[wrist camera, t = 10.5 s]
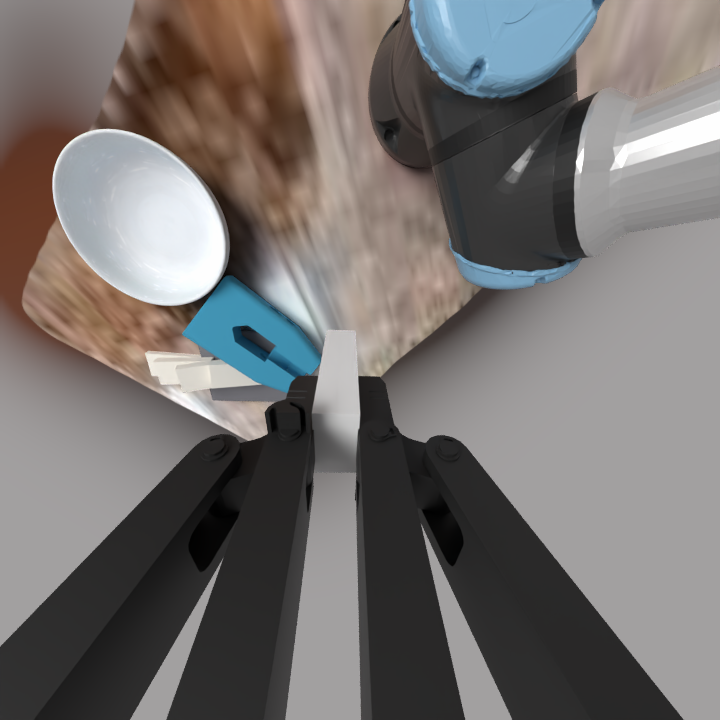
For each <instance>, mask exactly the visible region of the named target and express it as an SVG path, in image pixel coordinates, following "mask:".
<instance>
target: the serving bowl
mask: <svg viewBox="0 0 720 720" xmlns="http://www.w3.org/2000/svg"><path fill="white" fill-rule="evenodd" d="M53 197H54V203H55V207H56V211H57V214H58V217H59V220H60V222H61V224H62V227H63V229H64V231H65V233H66V235H67V237H68V238H69V240H70V242H71V243H72V245H73V246H74V248H75V249H76V250H77V252H78V253H79V255H80V256H81V257H82V258H83V259H84V261H85V262H86V263H87V264H88V265H89V266H90V267H91V268H92V269H93V270H94V271H95V272H96V273H97V274H98V275H99V276H100V277H101V278H103V279H104V280H105V281H106V282H108V283H109V284H111V285H112V286H113V287H115V288H117V289H118V290H120V291H122V292H123V293H125V294H127V295H129V296H131V297H134V298H136V299H138V300H141V301H144V302H148V303H151V304H157V305H165V306H176V305H183V304H188V303H191V302H194V301H196V300H198V299H200V298H202V297H203V296H205V295H206V294H208V293H209V292H210V291H211V290H212V289H213V288H214V287H215V286H216V284H217V283H218V282H219V281H220V279H221V277H222V276H223V274H224V271H225V269H226V266H227V263H228V259H229V251H230V241H229V232H228V227H227V223H226V220H225V217H224V214H223V212H222V210H221V207H220V205H219V203H218V201H217V200H216V198H215V196H214V195H213V193H212V192H211V190H210V189H209V187H208V186H207V185H206V183H205V182H204V181H203V180H202V178H201V177H200V176H199V175H198V174H197V173H196V172H195V171H194V170H193V169H192V168H191V167H190V166H189V165H188V164H187V163H185V162H184V161H183V160H182V159H181V158H179V157H178V156H177V155H175V154H174V153H172V152H171V151H169V150H168V149H166V148H165V147H163V146H161V145H160V144H158V143H156V142H154V141H152V140H150V139H148V138H146V137H143V136H141V135H138V134H135V133H132V132H127V131H122V130H116V129H100V130H94V131H90V132H87V133H84V134H82V135H80V136H78V137H76V138H75V139H73V140H72V141H71V142H70V143H69V144H68V145H67V146H66V147H65V148H64V149H63V150H62V152H61V154H60V156H59V157H58V160H57V162H56V165H55V169H54V173H53Z"/></svg>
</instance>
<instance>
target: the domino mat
mask: <svg viewBox="0 0 720 720" xmlns="http://www.w3.org/2000/svg"><path fill="white" fill-rule="evenodd" d="M241 332H242V335H243V336H244V337H245V338H247V339H248V340H250V341H251V342H253V343H254V344H256V345H257V346H258V347H260V348H261V349H263V350H264V351H266V352H267V353H268V354H270V352H271V351H272V350H273V349H274V347H275V346H276V345H275V344H273V343H272V342H270V341H269V340H268V339H266V338H265V337H263V336H262V335H261V334H259V333H258V332H256V331H255V330H241ZM198 346H199V345H198ZM199 350H200V354H201V357H214V360H220V359H219V358H218V357H216V356H215V355H213V354H211V353H210V352H208V351H207V350H205V349H204V348H202V347H201V346H199ZM210 392H211V395H212V399H213V400H225V401H281V400H285V399H286V396H287V393H285V392H282V391H279V390H277V389H274V388H271V387H268V386H265V385H250V386H238V387H225V388H213V389H212V388H210Z"/></svg>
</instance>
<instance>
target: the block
mask: <svg viewBox="0 0 720 720" xmlns="http://www.w3.org/2000/svg"><path fill="white" fill-rule="evenodd" d="M245 325H248V326H249V327H251V328H252V329H254V330H255V331H256V332H258V333H259V334H261V335H262V336H263V337H265V338H266V339H268V340H269V341H270V342H272V343H273V344H275V345H276V346H275V347H274V349H273V350H272V351H271V352H270V354H268V353H267V352H266V351H264V350H263V349H261V348H260V347H258V346H257V345H256V344H254V343H253V342H251V341H250V340H248V339H247V338H245V337H244V336H243V335H242V332H241V328H240V326H245ZM182 335H184V336H185V337H187V338H188V339H190V340H191V341H193V342H194V343H196V344H197V345H199V346H201V347H202V348H204V349H205V350H207V351H208V352H210V353H211V354H213V355H215V356H216V357H218V358H219V359H221V360H222V361H224V362H225V363H227V364H228V365H230V366H232V367H233V368H235V369H236V370H238V371H239V372H241V373H242V374H244V375H245V376H247V377H249V378H250V379H252V380H253V381H255V382H257V383H259V384H262V385H265V386H268V387H271V388H274V389H277V390H279V391H282V392H285V393H288V390H289V387H290V384H291V382H292V381H293V380H294V379H295V378H296V377H297V376H305V375H306V373H308V374H309V375H311V374H312V373H313V372H314V370H315V369H316V368H317V367H318V366H319V364H320V363H321V354H320V353H319V352H318V351H317V349H316V348H315V347H314V345H313V344H312V343H311V342H310V340H309V339H308V338H307V336H306V335H305V334H304V333H303V331H302V330H301V329H300V327H299V326H297V325H296V324H295V323H294V322H292V321H291V320H290V319H288V318H287V317H286V316H284V315H283V314H282V313H281V312H279V311H278V310H277V309H275V308H274V307H273V306H271V305H270V304H269V303H268V302H266V301H265V300H264V299H262V298H261V297H260V296H258V295H257V294H256V293H255V292H253V291H252V290H251V289H249V288H248V287H247V286H246V285H244V284H243V283H242V282H240V281H239V280H238V279H236V278H235V277H234V276H226V277H225V278H224V279H223V280H222V281H221V282H220V284H219V285H218V286H217V288H216V289H215V290H214V292H213V293H212V294H211V296H210V297H209V298H208V300H207V301H206V302H205V304H204V305H203V306H202V308H201V309H200V310H199V312H198V313H197V315H196V316H195V317H194V319H193V320H192V321H191V323H190V324H189V325H188V327H187V328H186V329H185V331H184V332H183V334H182Z"/></svg>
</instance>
